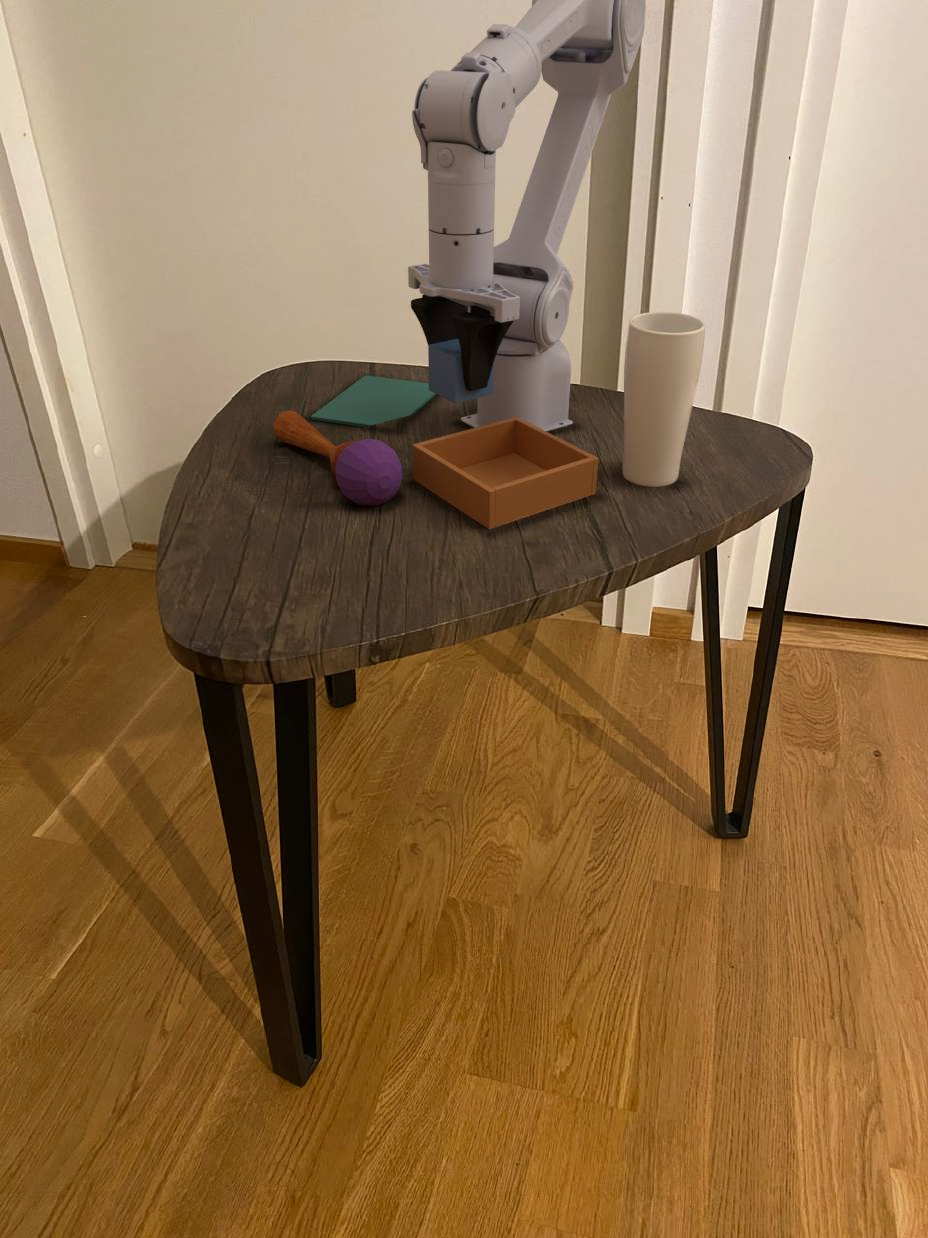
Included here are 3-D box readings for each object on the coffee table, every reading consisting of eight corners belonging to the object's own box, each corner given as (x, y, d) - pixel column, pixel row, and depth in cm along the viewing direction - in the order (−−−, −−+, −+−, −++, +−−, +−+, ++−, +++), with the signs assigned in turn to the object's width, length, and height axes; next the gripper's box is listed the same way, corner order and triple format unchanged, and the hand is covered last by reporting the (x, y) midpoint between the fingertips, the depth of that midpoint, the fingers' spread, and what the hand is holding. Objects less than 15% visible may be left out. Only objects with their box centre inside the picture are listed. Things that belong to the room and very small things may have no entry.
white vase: (700, 484, 93) (723, 326, 85) (644, 500, 90) (663, 338, 82) (653, 459, 98) (671, 307, 90) (599, 473, 95) (612, 318, 87)
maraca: (316, 397, 101) (417, 447, 86) (313, 453, 103) (411, 511, 89) (262, 397, 98) (357, 450, 83) (260, 456, 100) (353, 517, 85)
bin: (515, 453, 99) (516, 416, 97) (595, 497, 90) (598, 457, 88) (413, 483, 93) (412, 444, 91) (489, 533, 85) (489, 491, 82)
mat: (365, 378, 117) (365, 374, 117) (443, 388, 115) (443, 384, 114) (310, 419, 106) (310, 416, 106) (395, 431, 104) (395, 428, 103)
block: (466, 381, 96) (466, 336, 93) (493, 394, 93) (494, 348, 90) (428, 390, 93) (427, 344, 91) (455, 403, 90) (455, 356, 88)
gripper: (378, 219, 88) (384, 367, 95) (473, 249, 78) (471, 412, 86) (442, 211, 92) (443, 354, 99) (541, 239, 82) (534, 396, 89)
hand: (460, 380), depth 92 cm, fingers closed on block, 4 cm apart
